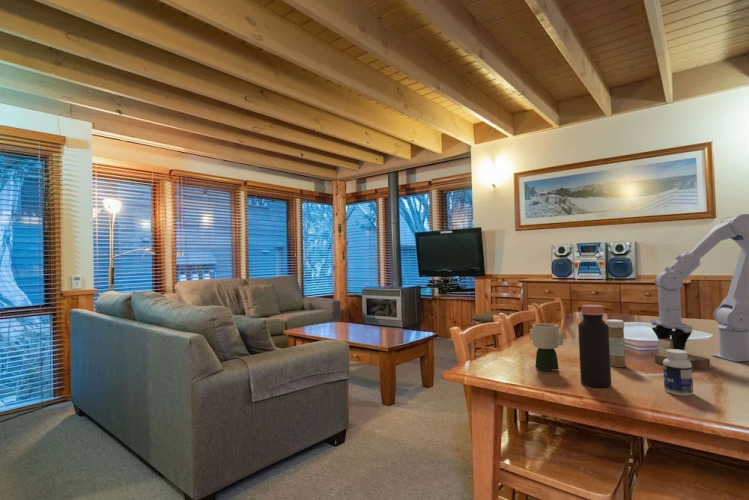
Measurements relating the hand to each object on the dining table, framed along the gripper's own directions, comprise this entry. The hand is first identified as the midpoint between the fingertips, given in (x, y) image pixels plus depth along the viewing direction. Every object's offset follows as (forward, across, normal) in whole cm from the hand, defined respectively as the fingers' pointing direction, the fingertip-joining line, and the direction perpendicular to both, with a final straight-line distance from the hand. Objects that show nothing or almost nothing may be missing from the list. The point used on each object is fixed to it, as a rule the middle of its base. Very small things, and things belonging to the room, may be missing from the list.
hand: (672, 351), depth 125 cm
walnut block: (+2, +11, -6) cm, 13 cm away
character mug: (+2, +11, -46) cm, 47 cm away
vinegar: (+2, +25, -40) cm, 47 cm away
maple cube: (+1, 0, 0) cm, 1 cm away
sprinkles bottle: (+2, +9, -24) cm, 26 cm away
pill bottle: (+2, +33, -25) cm, 41 cm away
